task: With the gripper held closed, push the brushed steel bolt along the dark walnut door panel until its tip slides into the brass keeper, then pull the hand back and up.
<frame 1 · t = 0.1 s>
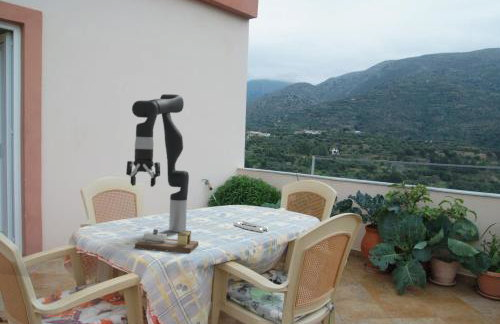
hand: (142, 185, 149), 29 cm above the table, tool pointing down, fingers open, 8 cm apart
door handle: (250, 228, 209), on the table
keeper: (183, 248, 161), resting on door panel
bolt: (155, 234, 163), point 5 cm above the table, slide at 0.0 cm
door panel: (167, 246, 162), on the table
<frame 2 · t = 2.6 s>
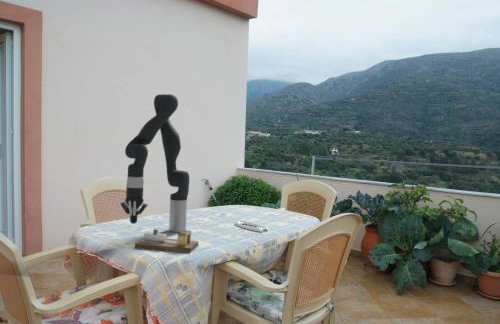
hand: (133, 223, 164), 10 cm above the table, tool pointing down, fingers closed
nothing on the table moved.
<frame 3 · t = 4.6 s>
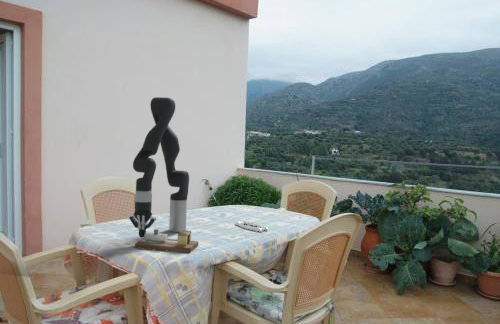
hand: (142, 237, 164), 3 cm above the table, tool pointing down, fingers closed
bolt: (156, 235, 163), point 5 cm above the table, slide at 0.3 cm, touching gripper
everything else where it was.
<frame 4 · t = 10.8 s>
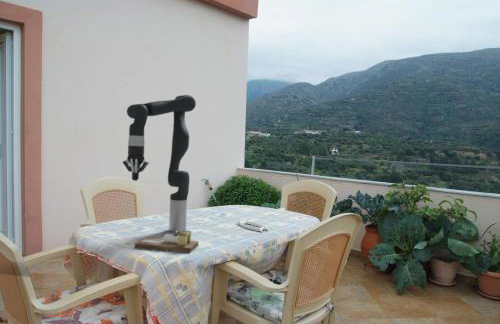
hand: (135, 180, 172), 29 cm above the table, tool pointing down, fingers closed
door handle: (251, 228, 210), on the table
bolt: (175, 236, 161), point 5 cm above the table, slide at 9.8 cm
at the end: bolt slide at 9.8 cm; door handle moved 1.7 cm from its start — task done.
